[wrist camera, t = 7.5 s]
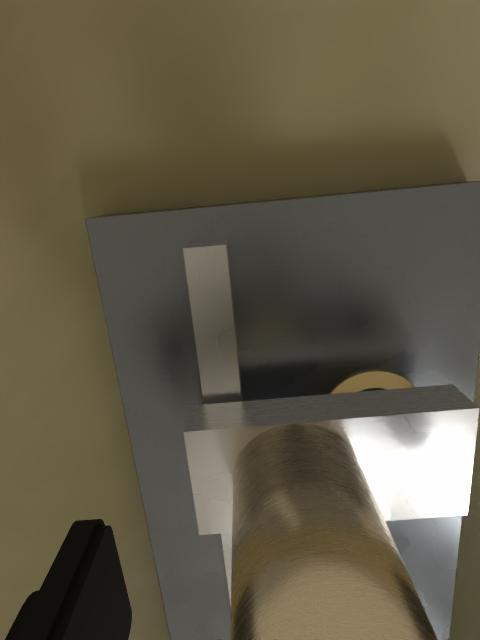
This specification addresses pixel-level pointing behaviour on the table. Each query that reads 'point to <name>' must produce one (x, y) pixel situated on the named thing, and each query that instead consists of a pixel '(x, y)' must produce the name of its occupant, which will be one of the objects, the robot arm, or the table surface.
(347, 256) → the plate
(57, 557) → the robot arm
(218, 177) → the table surface
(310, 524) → the sliding carriage with knob
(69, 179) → the table surface
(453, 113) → the table surface
